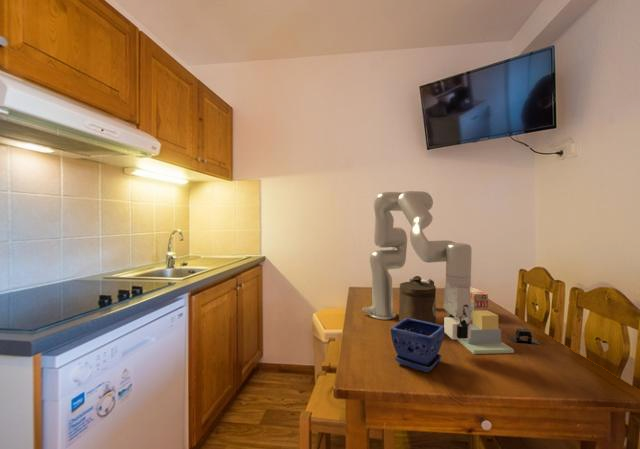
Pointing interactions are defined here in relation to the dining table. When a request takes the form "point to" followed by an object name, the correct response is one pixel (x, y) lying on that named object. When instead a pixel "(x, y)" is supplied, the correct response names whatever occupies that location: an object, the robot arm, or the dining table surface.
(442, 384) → the dining table surface
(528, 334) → the black piece
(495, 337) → the slate-blue long brick
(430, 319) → the wooden container
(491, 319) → the mustard brick
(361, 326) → the dining table surface
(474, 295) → the stack of blocks
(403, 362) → the flower pot
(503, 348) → the green plate
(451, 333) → the cream brick
